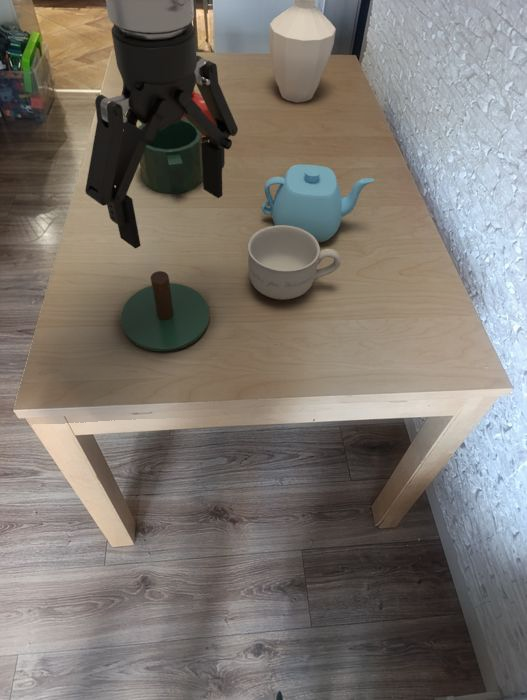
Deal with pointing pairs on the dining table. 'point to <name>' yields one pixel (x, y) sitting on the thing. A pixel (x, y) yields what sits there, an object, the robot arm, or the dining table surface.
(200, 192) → the dining table surface
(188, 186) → the pot
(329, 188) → the teapot
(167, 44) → the robot arm
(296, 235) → the teacup
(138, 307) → the pot lid
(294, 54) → the vase
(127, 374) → the dining table surface
